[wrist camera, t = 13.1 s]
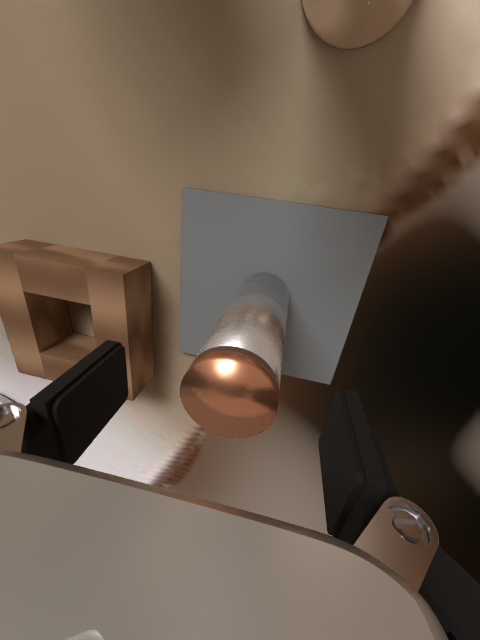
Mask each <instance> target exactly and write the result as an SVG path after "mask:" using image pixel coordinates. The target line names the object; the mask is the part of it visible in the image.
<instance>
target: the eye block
mask: <svg viewBox="0 0 480 640" xmlns="http://www.w3.org/2000/svg"><path fill="white" fill-rule="evenodd" d="M66 300H68V301H73V302H78V303H82V304H87V305H90V306H91V313H92V320H93V326H94V333H95V337H90V336H86V335H81V334H77V333H72V328H71V322H70V317H69V312H68V307H67V301H66ZM0 314H1V318H2V321H3V324H4V327H5V330H6V333H7V337H8V340H9V343H10V346H11V349H12V352H13V355H14V359H15V362H16V365H17V368H18V371H19V372H20V373H24V374H28V375H32V376H36V377H40V378H44V379H48V380H52V381H54V380H56V379H57V378H58V377H60V376H61V375H62V374H63V373H65V372H66V371H67V370H69V369H70V368H71V367H72V366H74V365H75V364H76V363H78V362H79V361H80V360H81V359H83V358H84V357H85V356H87V355H88V354H89V353H91V352H92V351H93V350H94V349H96V348H97V347H98V346H100V345H101V344H102V343H103V342H105V341H106V340H112V341H116V342H120V343H121V344H122V346H124V347H125V353H126V366H127V379H128V391H129V393H128V397H127V399H128V400H132V401H133V400H134V399H135V398H136V397H137V395H138V394H139V393H140V392H141V390H142V389H143V388H144V387H145V385H146V384H147V383H148V382H149V380H150V379H151V378H152V377H153V375H154V354H153V323H152V292H151V262H150V261H144V260H138V259H133V258H127V257H122V256H116V255H110V254H105V253H99V252H94V251H88V250H82V249H77V248H71V247H66V246H60V245H55V244H49V243H43V242H38V241H32V240H27V239H26V240H20V241H15V242H9V243H3V244H0Z"/></svg>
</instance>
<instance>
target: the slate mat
mask: <svg viewBox="0 0 480 640" xmlns="http://www.w3.org/2000/svg"><path fill="white" fill-rule="evenodd" d="M388 217H389V216H386V215H378V214H371V213H364V212H357V211H350V210H343V209H335V208H328V207H321V206H314V205H307V204H300V203H292V202H285V201H278V200H271V199H264V198H257V197H249V196H242V195H235V194H228V193H221V192H214V191H206V190H199V189H192V188H183V214H182V263H181V311H180V352H183V353H188V354H192V355H198V353H199V352H200V350H201V348H202V347H203V345H204V344H205V342H206V340H207V339H208V337H209V336H210V334H211V333H212V331H213V329H214V328H215V326H216V325H217V323H218V321H219V320H220V318H221V317H222V315H223V313H224V312H225V310H226V309H227V307H228V306H229V304H230V302H231V301H232V299H233V298H234V296H235V294H236V293H237V291H238V290H239V288H240V286H241V285H242V283H243V282H244V281H245V280H246V279H247V278H248V277H249V276H251V275H253V274H255V273H260V272H267V273H271V274H274V275H276V276H278V277H279V278H280V279H282V280H283V282H284V283H285V284H286V286H287V288H288V291H289V305H288V314H287V324H286V333H285V342H284V351H283V360H282V369H281V374H283V375H288V376H292V377H297V378H302V379H306V380H310V381H315V382H319V383H325V384H329V385H330V384H331V381H332V378H333V375H334V372H335V369H336V367H337V363H338V361H339V358H340V355H341V352H342V349H343V346H344V344H345V341H346V338H347V335H348V332H349V329H350V326H351V323H352V320H353V318H354V315H355V312H356V309H357V306H358V303H359V300H360V297H361V294H362V291H363V289H364V286H365V283H366V280H367V277H368V274H369V271H370V269H371V266H372V263H373V260H374V257H375V254H376V251H377V249H378V246H379V243H380V240H381V237H382V234H383V231H384V228H385V226H386V223H387V220H388Z"/></svg>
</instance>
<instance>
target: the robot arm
mask: <svg viewBox="0 0 480 640" xmlns="http://www.w3.org/2000/svg"><path fill="white" fill-rule="evenodd" d="M128 393H129V391H128V379H127V366H126V353H125V347H124V346H122V344H121V343H120V342H116V341H112V340H106V341H105V342H103V343H102V344H101V345H100V346H98V347H97V348H96V349H94V350H93V351H92V352H91V353H89V354H88V355H87V356H85V357H84V358H83V359H81V360H80V361H79V362H78V363H76V364H75V365H74V366H72V367H71V368H70V369H69V370H67V371H66V372H65V373H63V374H62V375H61V376H60V377H58V378H57V379H56V380H54V381H53V382H52V383H51V384H49V385H48V386H47V387H45V388H44V389H43V390H41V391H40V392H39V393H38V394H36V395H35V396H34V397H32V398H31V399H30V403H29V404H28V405H26V406H24V405H23V404H20V403H14V402H13V401H11V400H9V399H8V398H6V397H4V396H2V395H0V640H480V584H479V583H478V582H476V581H475V580H474V579H473V578H472V577H471V576H470V575H469V574H468V573H467V572H466V571H465V570H463V569H462V567H460V566H459V565H458V564H457V563H456V562H455V561H454V560H453V559H452V558H451V557H450V556H449V555H448V554H446V552H444V551H443V550H442V549H441V548H440V547H439V546H438V543H439V538H438V533H437V531H436V528H435V526H434V524H433V522H432V521H431V520H430V518H429V517H428V516H427V514H426V513H424V512H423V511H422V510H421V509H420V508H419V507H418V506H416V505H415V504H414V503H412V502H411V501H408V500H406V499H404V498H400V497H399V495H398V493H397V490H396V487H395V484H394V481H393V478H392V475H391V473H390V470H389V467H388V464H387V461H386V458H385V455H384V452H383V450H382V447H381V444H380V441H379V438H378V435H377V433H376V431H375V430H374V429H369V427H368V424H367V421H366V417H365V414H364V411H363V408H362V405H361V402H360V399H359V396H358V393H357V392H354V391H350V390H345V389H342V390H341V391H340V392H336V393H335V396H334V398H333V401H332V404H331V407H330V410H329V412H328V415H327V418H326V421H325V424H324V427H323V429H322V432H321V435H320V439H319V453H320V462H321V473H322V482H323V493H324V503H325V512H326V522H327V531H328V534H330V535H333V537H332V536H329V535H326V534H323V533H320V532H317V531H314V530H311V529H307V528H304V527H301V526H297V525H294V524H290V523H287V522H284V521H280V520H277V519H273V518H270V517H266V516H263V515H259V514H255V513H252V512H248V511H244V510H241V509H237V508H234V507H230V506H226V505H223V504H219V503H215V502H211V501H208V500H204V499H201V498H197V497H193V496H189V495H186V494H182V493H178V492H175V491H171V490H167V489H164V488H160V487H156V486H152V485H149V484H145V483H141V482H137V481H134V480H130V479H126V478H122V477H119V476H115V475H111V474H107V473H103V472H99V471H96V470H92V469H88V468H84V467H80V466H77V465H73V464H74V463H75V462H76V461H77V460H78V459H79V457H80V456H81V455H82V454H83V452H84V451H85V450H86V449H87V448H88V446H89V445H90V444H91V443H92V441H93V440H94V439H95V438H96V436H97V435H98V434H99V433H100V432H101V430H102V429H103V428H104V427H105V425H106V424H107V423H108V422H109V421H110V419H111V418H112V417H113V416H114V414H115V413H116V412H117V411H118V410H119V408H120V407H121V406H122V405H123V403H124V402H125V401H126V399H127V397H128Z"/></svg>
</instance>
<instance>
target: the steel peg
mask: <svg viewBox="0 0 480 640" xmlns="http://www.w3.org/2000/svg"><path fill="white" fill-rule="evenodd" d="M288 305H289V291H288V288H287V286H286V284H285V283H284V282H283V280H282V279H280V278H279V277H278V276H276V275H274V274H271V273H267V272H260V273H255V274H253V275H251V276H249V277H248V278H247V279H246V280H245V281H244V282H243V283H242V285H241V286H240V288H239V290H238V291H237V293H236V294H235V296H234V298H233V299H232V301H231V302H230V304H229V306H228V307H227V309H226V310H225V312H224V313H223V315H222V317H221V318H220V320H219V321H218V323H217V325H216V326H215V328H214V329H213V331H212V333H211V334H210V336H209V337H208V339H207V340H206V342H205V344H204V345H203V347H202V348H201V350H200V352H199V353H198V355H197V356H196V358H195V360H194V361H193V363H192V364H191V366H190V367H189V369H188V371H187V372H186V374H185V375H184V377H183V379H182V382H181V385H180V397H181V401H182V404H183V406H184V408H185V410H186V411H187V413H188V414H189V415H190V417H191V418H192V419H193V420H194V421H195V422H196V423H198V424H199V425H200V426H202V427H203V428H205V429H207V430H208V431H210V432H213V433H215V434H218V435H221V436H225V437H232V438H246V437H251V436H254V435H257V434H259V433H261V432H263V431H264V430H266V429H267V428H268V427H269V426H270V425H271V424H272V422H273V421H274V419H275V416H276V413H277V406H278V396H279V388H280V378H281V369H282V360H283V351H284V342H285V333H286V324H287V314H288Z"/></svg>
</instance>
